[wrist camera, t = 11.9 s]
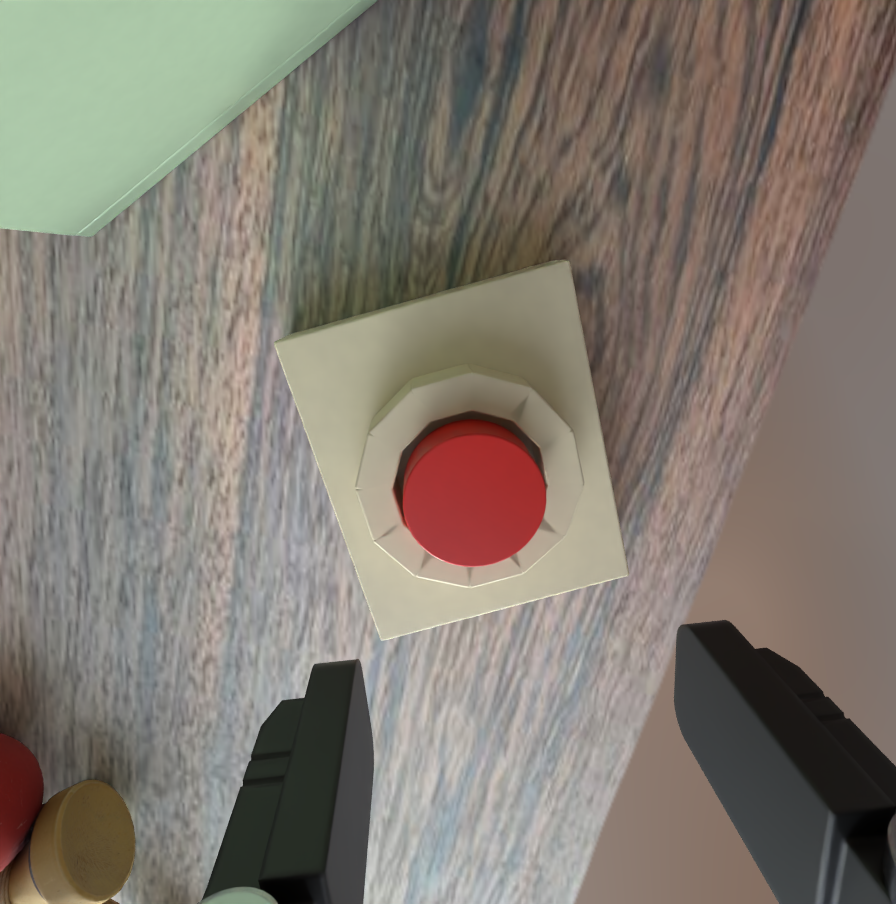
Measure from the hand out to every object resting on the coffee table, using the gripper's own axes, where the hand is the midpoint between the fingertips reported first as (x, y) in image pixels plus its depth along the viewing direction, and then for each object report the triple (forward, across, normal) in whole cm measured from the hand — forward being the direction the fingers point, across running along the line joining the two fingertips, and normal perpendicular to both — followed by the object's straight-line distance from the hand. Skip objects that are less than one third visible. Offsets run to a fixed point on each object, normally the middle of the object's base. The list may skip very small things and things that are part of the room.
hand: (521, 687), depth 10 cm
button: (+10, 0, 0) cm, 10 cm away
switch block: (+13, 0, 0) cm, 13 cm away
